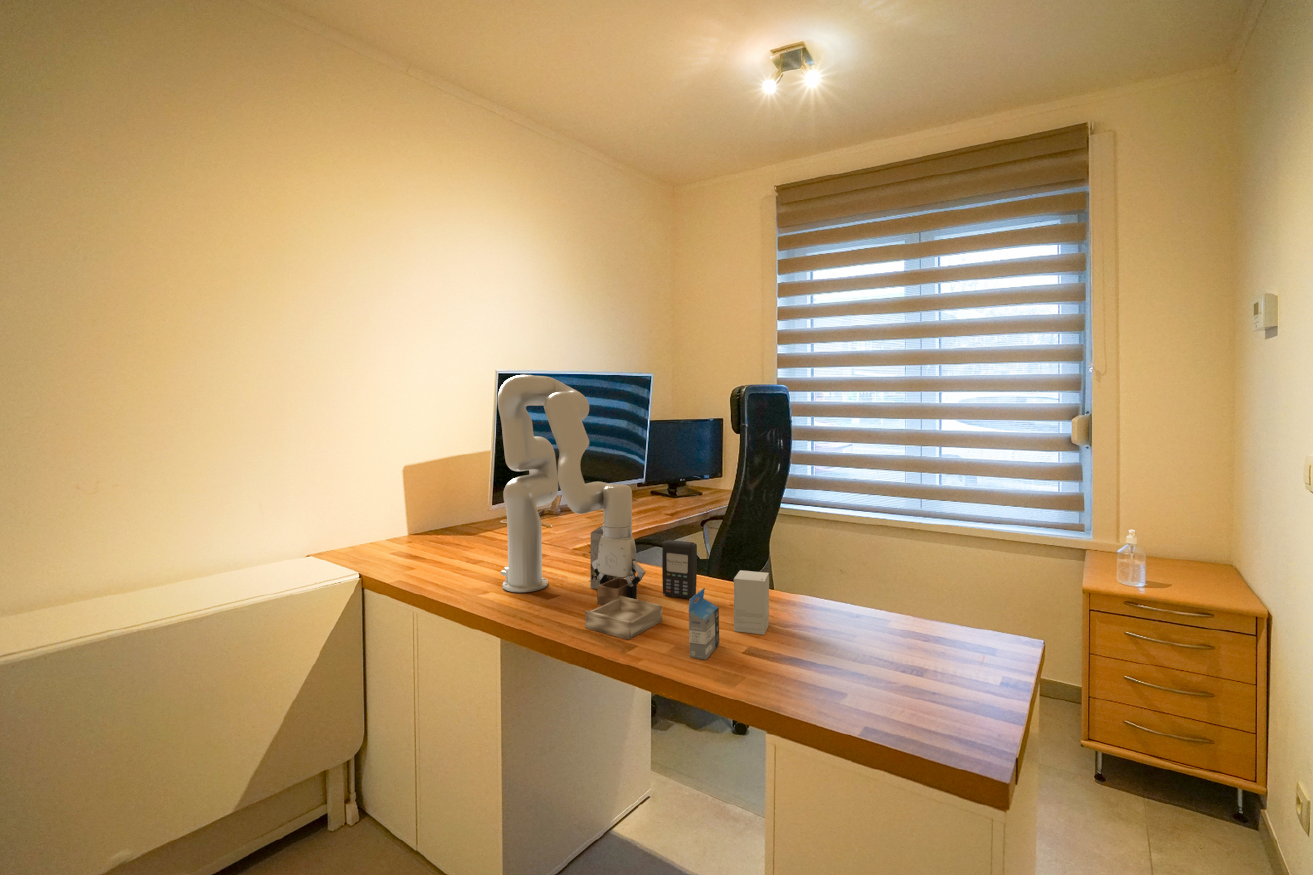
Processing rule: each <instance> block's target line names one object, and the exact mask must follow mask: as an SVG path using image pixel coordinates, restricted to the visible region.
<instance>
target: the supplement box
mask: <svg viewBox="0 0 1313 875" xmlns="http://www.w3.org/2000/svg"><path fill="white" fill-rule="evenodd" d="M769 625H770V572H762V571H751V570H742V569H741V570H739V571H738V572H737V574H736V575H735V576H734V578H733V631H734V632H739V633H747V634H754V635H763V636H764V635H765V634H766V633H767V630H768V627H769Z"/></svg>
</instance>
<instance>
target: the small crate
mask: <svg viewBox="0 0 1313 875" xmlns="http://www.w3.org/2000/svg"><path fill="white" fill-rule="evenodd" d="M627 586H629V584H628V582H627V580H626V578H619V577H617V578H615V579H613V580H610V581H608V582H605V583H603V584H600V585H598V586H597V589H596V590H597V591H596V592H597V595H596V596H597V600H596V602H597V603H596V604H597V605H598V606H603V605H605V604H607V603H609V602H611V601H614V600H616V599H618V597H619V596H624V597H627ZM636 599H637V600H638V594H637V595H636Z"/></svg>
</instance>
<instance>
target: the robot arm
mask: <svg viewBox="0 0 1313 875" xmlns="http://www.w3.org/2000/svg"><path fill="white" fill-rule="evenodd" d="M498 390H499V391H498V394H497V410H498V413H499V416H500V423H501V430H502V432H501V433H502V442H503V451H504V459H505V464H506V466H507V467H508V468H509V469H510V470H511V471H514V472H525V471H529V474H527V475H526V474H525V475H520V476H517V477H515V478H514V477H513V478H512V479H511V480H509V481H508V482H507V483H506V485H505V487H504V488H503V492H502V493H503V502H504V506H505V511H506V512H505V514H506V523H507V526H506V528H507V530H506V531H507V566H505V567H504V568H503V570H501V571H500V575H501V576H503V577H504V576H505V580H504V581H503V582H502V588H503V590H505V591H507V592H510V593H511V592H512V593H531V592H536V591H541V590H543V589H545V588H546V587H547V586H548V579H547V578H546V577H543V553H542V552H543V551H542V550H543V549H542V548H543V547H542V546H543V542H542V541H543V540H542V539H543V534H542V533H543V531H542V530H543V529H542V519H541V517H540V514H539V511H538V509H537V508H538V507H541V506H545V505H550V503H553V502H554V501H555V499H557V496H558V492H559V489H560V491H561V494H562V496H563V499H564V501H565V503H566V505H567V507H568V508H569V509H570V510H571V512H573V513H575V514H577V515H584V514H589V513H591V512H594V511H599V510H602V509H603V510H602V514H603V515H602V519H603V520H602V521H603V524H602V525H601V526H600V527H601V530H603V536H601V538H600V543H599V549H598V559H596V560H595V561H593V562H592V566H593V568H594V569H595V573H596V575H597V576H598V580H600V584H603V583H605V582H608V581H609V578H607V577H608V575H609V576H614V577H619V578H625V579H626V580H627V582H628V584H629V586H627V597H628V598H633V599H636V595H637V596H638V584H639V583H640V582H641V581H642V580H643V578H644V576H645V574H646V570H645V569H644V568H643V567H642V566H641V565H640V564H639V563H638V560H637V558H638V557H637V548H636V542H635V538H634V537H633V491H632V488H631V486H629V485H627V484H621V483H620V484H619V483H616V484H613V483H612V484H611V483H608V482H603V481H592V482H587V483H585V480H584V477H583V473H582V471H581V469H582V468H581V462H582V457H583V454H584V453H585V451H586V450H587V448H589V446H590V439H589V437H588V435H587V431H586V429H585V426H584V423H583V421H584V420H585V419H586V418H587V417H588V415H589V412H590V404H589V400H588V399H587V398H586V397H585V395H584V394H582V393H581V392H580V391H578V390H577V389H574V388H572V387H571V386H569V385H567V384H565V383H564V382H561V381H560V380H557V379H556V378H553V377H552V376H551V377H550V376H545V375H532V374H520V375H518V374H517V375H515V376H512V377H510V378H508V379H506V380H505V381H504V382H503V384H501V386H500V388H499V389H498ZM528 406H535V407H536V406H537V407H538V406H540V407H541V406H543V408H544V409H543V410H544V412H545V416H546V419H547V420H548V424H549V426H550V430H551V432H552V435H553V438H554V440H555V443H556V446H557V448H558V452H559V454H558V455H559V457H558V460H556V453H555V450H554V449H555V448H554V447H553V445H552V443H551V442H550V441H549V439H547V438H545V437H543V436H538V435H537V436H535V435H534V430H533V429H534V426H533V420H532V418H531V416H530V413H529V412H528V410H527V407H528Z"/></svg>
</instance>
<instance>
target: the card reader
mask: <svg viewBox="0 0 1313 875" xmlns="http://www.w3.org/2000/svg"><path fill="white" fill-rule="evenodd" d="M661 557H662V558H661V560H662V561H661V563H662V565H661V566H662V569H661V570H662V582H661V583H662V594H663V595H665V596H666V597H673V598H674V597H675V598H681V599H686V600H690V599H691V598H692V597H693V596H694V595H696V594H697V581H698V580H697V578H698V577H697V576H698V575H697V574H698V573H697V572H698V571H697V570H698V567H697V566H698V544H697V542H693V541H682V540H672V539H668V540H664V541H663V542H662V556H661Z"/></svg>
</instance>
